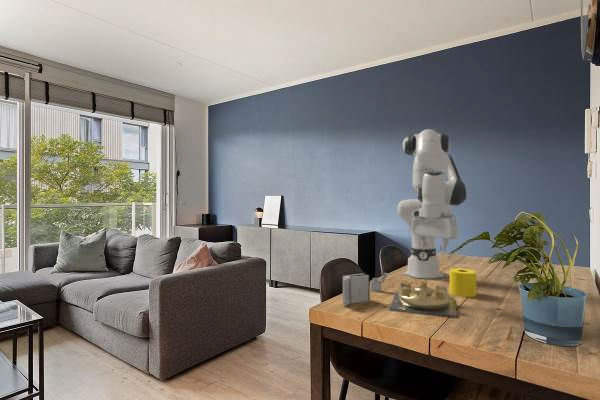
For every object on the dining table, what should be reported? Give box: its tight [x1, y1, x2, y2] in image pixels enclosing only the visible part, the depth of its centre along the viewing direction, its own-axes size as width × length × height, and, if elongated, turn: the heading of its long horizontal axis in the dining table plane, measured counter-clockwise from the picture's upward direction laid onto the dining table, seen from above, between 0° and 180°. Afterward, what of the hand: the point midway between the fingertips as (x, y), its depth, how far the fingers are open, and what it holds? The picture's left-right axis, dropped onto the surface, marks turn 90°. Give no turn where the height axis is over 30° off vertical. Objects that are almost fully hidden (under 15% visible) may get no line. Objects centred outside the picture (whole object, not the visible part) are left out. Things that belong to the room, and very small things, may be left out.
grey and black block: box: [342, 273, 371, 308], centre depth 134 cm, size 14×5×10 cm, turn 124°
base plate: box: [389, 291, 458, 319], centre depth 130 cm, size 22×22×1 cm
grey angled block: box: [370, 272, 388, 292], centre depth 149 cm, size 7×2×8 cm, turn 68°
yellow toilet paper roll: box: [449, 267, 477, 298], centre depth 144 cm, size 10×10×9 cm
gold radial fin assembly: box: [397, 280, 450, 310], centre depth 130 cm, size 18×18×6 cm
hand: (433, 248), depth 134 cm, fingers open, 8 cm apart
